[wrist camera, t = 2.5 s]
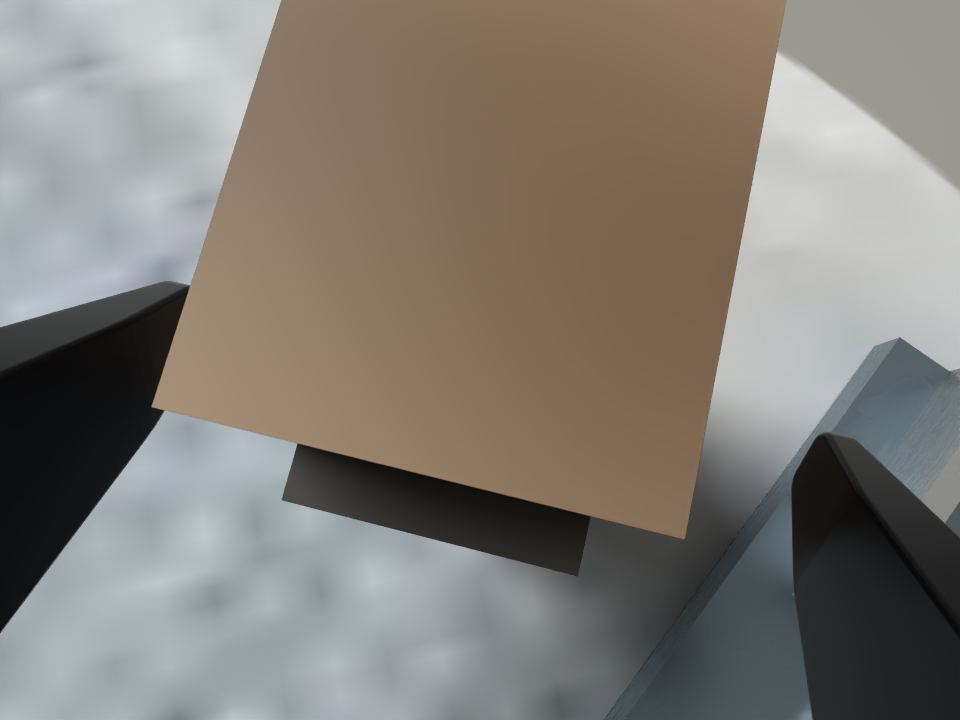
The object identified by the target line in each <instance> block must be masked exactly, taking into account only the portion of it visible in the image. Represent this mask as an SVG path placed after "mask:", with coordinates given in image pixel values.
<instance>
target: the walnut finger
mask: <svg viewBox="0 0 960 720" xmlns="http://www.w3.org/2000/svg"><path fill="white" fill-rule="evenodd" d="M785 5H786V0H281V4H280V7H279V10H278V13H277V16H276V19H275V22H274V25H273V29H272V32H271V35H270V38H269V41H268V44H267V47H266V50H265V54H264V57H263V60H262V63H261V66H260V69H259V72H258V76H257V79H256V82H255V85H254V88H253V91H252V94H251V97H250V101H249V104H248V107H247V110H246V113H245V116H244V119H243V122H242V126H241V129H240V132H239V135H238V138H237V141H236V144H235V147H234V151H233V154H232V157H231V160H230V163H229V166H228V169H227V173H226V176H225V179H224V182H223V185H222V188H221V191H220V194H219V198H218V201H217V204H216V207H215V210H214V213H213V216H212V219H211V223H210V226H209V229H208V232H207V235H206V238H205V241H204V244H203V248H202V251H201V254H200V257H199V260H198V263H197V266H196V270H195V273H194V276H193V279H192V282H191V285H190V288H189V291H188V295H187V298H186V301H185V304H184V307H183V310H182V313H181V316H180V320H179V323H178V326H177V329H176V332H175V335H174V338H173V341H172V345H171V348H170V351H169V354H168V357H167V360H166V363H165V367H164V370H163V373H162V376H161V379H160V382H159V385H158V388H157V392H156V395H155V398H154V401H153V404H152V407H153V408H157V409H161V410H165V411H169V412H173V413H177V414H181V415H186V416H190V417H194V418H198V419H202V420H206V421H210V422H214V423H218V424H222V425H226V426H230V427H234V428H238V429H242V430H246V431H250V432H254V433H258V434H262V435H266V436H270V437H274V438H278V439H282V440H286V441H290V442H294V443H298V444H297V448H296V451H295V455H294V458H293V462H292V465H291V469H290V472H289V476H288V479H287V483H286V486H285V490H284V493H283V497H282V500H283V501H287V502H291V503H295V504H299V505H303V506H306V507H310V508H314V509H318V510H322V511H326V512H330V513H334V514H337V515H341V516H345V517H349V518H353V519H357V520H361V521H365V522H369V523H372V524H376V525H380V526H384V527H388V528H392V529H396V530H400V531H404V532H407V533H411V534H415V535H419V536H423V537H427V538H431V539H435V540H439V541H442V542H446V543H450V544H454V545H458V546H462V547H466V548H470V549H474V550H477V551H481V552H485V553H489V554H493V555H497V556H501V557H505V558H509V559H512V560H516V561H520V562H524V563H528V564H532V565H536V566H540V567H544V568H547V569H551V570H555V571H559V572H563V573H567V574H571V575H575V576H578V573H579V569H580V564H581V559H582V554H583V550H584V545H585V540H586V535H587V531H588V526H589V521H590V517H591V516H592V517H596V518H600V519H604V520H608V521H612V522H616V523H620V524H624V525H629V526H633V527H637V528H641V529H645V530H649V531H653V532H657V533H661V534H665V535H669V536H673V537H677V538H681V539H685V535H686V530H687V525H688V520H689V514H690V509H691V504H692V498H693V493H694V488H695V482H696V477H697V472H698V467H699V461H700V456H701V451H702V445H703V440H704V435H705V429H706V424H707V419H708V414H709V408H710V403H711V398H712V392H713V387H714V382H715V376H716V371H717V366H718V361H719V355H720V350H721V345H722V339H723V334H724V329H725V323H726V318H727V313H728V307H729V302H730V297H731V292H732V286H733V281H734V276H735V270H736V265H737V260H738V254H739V249H740V244H741V239H742V233H743V228H744V223H745V217H746V212H747V207H748V201H749V196H750V191H751V186H752V180H753V175H754V170H755V164H756V159H757V154H758V148H759V143H760V138H761V133H762V127H763V122H764V117H765V111H766V106H767V101H768V95H769V90H770V85H771V80H772V74H773V69H774V64H775V58H776V53H777V48H778V42H779V37H780V32H781V27H782V21H783V16H784V11H785Z"/></svg>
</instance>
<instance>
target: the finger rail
mask: <svg viewBox="0 0 960 720" xmlns="http://www.w3.org/2000/svg"><path fill="white" fill-rule="evenodd" d="M825 431H828V432H832V433H836V434H841V435H845V436H850V437H853V438H855V439H856V440H857V441H858V442H860V443H861V444H862V445H863V446H864V447H865V448H866V449H867V450H868V451H869V452H870V453H871V454H872V455H873V456H874V457H875V458H876V459H878V460H879V461H880V462H881V463H882V464H883V465H884V466H885V467H886V468H887V469H888V470H889V471H890V472H891V473H892V474H893V475H894V476H896V477H897V478H898V479H899V480H900V481H901V482H902V483H903V484H904V485H905V486H906V487H907V488H908V489H909V490H910V491H911V492H912V493H914V494H915V495H916V496H917V497H918V498H919V499H920V500H921V501H922V502H923V503H924V504H925V505H926V506H927V507H928V508H929V509H930V510H931V511H933V512H934V513H935V514H936V515H937V516H938V517H939V518H940V519H941V520H942V521H943V522H944V523H945V524H946V525H947V526H948V527H949V528H951V529H952V530H953V531H954V532H955V533H956V534H957V535H958V536H959V537H960V369H957V370H953V371H948V370H946V369H945V368H944V367H942V366H941V365H939V364H938V363H936V362H935V361H933V360H932V359H930V358H929V357H927V356H926V355H925V354H923V353H922V352H920V351H919V350H917V349H916V348H914V347H913V346H911V345H910V344H909V343H907V342H906V341H904V340H903V339H901V338H900V337H899V338H897V339H894V340H891V341H888V342H886V343H883V344H880V345H877V346H875V347H874V348H873V349H872V351H871V352H870V354H869V355H868V356H867V358H866V359H865V360H864V362H863V363H862V365H861V366H860V367H859V369H858V370H857V371H856V373H855V374H854V376H853V377H852V378H851V380H850V381H849V383H848V384H847V385H846V387H845V388H844V389H843V391H842V392H841V394H840V395H839V396H838V398H837V399H836V400H835V402H834V403H833V405H832V406H831V407H830V409H829V410H828V412H827V413H826V414H825V416H824V417H823V418H822V420H821V421H820V423H819V424H818V425H817V427H816V428H815V429H814V431H813V432H812V434H811V435H810V436H809V438H808V439H807V440H806V442H805V443H804V445H803V446H802V447H801V449H800V450H799V452H798V453H797V454H796V456H795V457H794V458H793V460H792V461H791V463H790V464H789V465H788V467H787V468H786V469H785V471H784V472H783V474H782V475H781V476H780V478H779V479H778V481H777V482H776V483H775V485H774V486H773V487H772V489H771V490H770V492H769V493H768V494H767V496H766V497H765V498H764V500H763V501H762V503H761V504H760V505H759V507H758V508H757V509H756V511H755V512H754V514H753V515H752V516H751V518H750V519H749V521H748V522H747V523H746V525H745V526H744V527H743V529H742V530H741V532H740V533H739V534H738V536H737V537H736V538H735V540H734V541H733V543H732V544H731V545H730V547H729V548H728V550H727V551H726V552H725V554H724V555H723V556H722V558H721V559H720V561H719V562H718V563H717V565H716V566H715V567H714V569H713V570H712V572H711V573H710V574H709V576H708V577H707V578H706V580H705V581H704V583H703V584H702V585H701V587H700V588H699V590H698V591H697V592H696V594H695V595H694V596H693V598H692V599H691V601H690V602H689V603H688V605H687V606H686V607H685V609H684V610H683V612H682V613H681V614H680V616H679V617H678V618H677V620H676V621H675V623H674V624H673V625H672V627H671V628H670V630H669V631H668V632H667V634H666V635H665V636H664V638H663V639H662V641H661V642H660V643H659V645H658V646H657V647H656V649H655V650H654V652H653V653H652V654H651V656H650V657H649V659H648V660H647V661H646V663H645V664H644V665H643V667H642V668H641V670H640V671H639V672H638V674H637V675H636V676H635V678H634V679H633V681H632V682H631V683H630V685H629V686H628V687H627V689H626V690H625V692H624V693H623V694H622V696H621V697H620V699H619V700H618V701H617V703H616V704H615V705H614V707H613V708H612V710H611V711H610V712H609V714H608V715H607V716H606V718H605V719H604V720H812V714H811V707H810V700H809V693H808V686H807V679H806V672H805V666H804V659H803V652H802V645H801V638H800V631H799V625H798V618H797V611H796V604H795V595H794V586H793V557H792V505H791V486H792V480H793V477H794V474H795V472H796V470H797V468H798V467H799V465H800V463H801V461H802V460H803V458H804V456H805V455H806V453H807V451H808V449H809V448H810V446H811V444H812V443H813V441H814V439H815V438H816V437H817V435H819V434H820V433H822V432H825Z"/></svg>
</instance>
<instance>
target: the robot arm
mask: <svg viewBox="0 0 960 720" xmlns="http://www.w3.org/2000/svg"><path fill="white" fill-rule="evenodd" d="M189 288H190V285H186V284H182V283H177V282H173V281H164V282H160V283H157V284H153V285H150V286H146V287H142V288H139V289H135V290H132V291H128V292H125V293H121V294H118V295H114V296H110V297H107V298H103V299H100V300H96V301H93V302H89V303H86V304H82V305H78V306H75V307H71V308H68V309H64V310H61V311H57V312H53V313H50V314H46V315H43V316H39V317H36V318H32V319H29V320H25V321H21V322H18V323H14V324H11V325H7V326H4V327H0V633H1V631H2V630H3V629H4V627H5V626H6V625H7V623H8V622H9V621H10V619H11V618H12V617H13V615H14V614H15V613H16V611H17V610H18V609H19V607H20V606H21V605H22V603H23V602H24V601H25V600H26V598H27V597H28V596H29V594H30V593H31V592H32V590H33V589H34V588H35V586H36V585H37V584H38V582H39V581H40V580H41V578H42V577H43V576H44V574H45V573H46V572H47V570H48V569H49V568H50V566H51V565H52V564H53V562H54V561H55V560H56V558H57V557H58V556H59V554H60V553H61V552H62V550H63V549H64V548H65V546H66V545H67V544H68V542H69V541H70V540H71V538H72V537H73V536H74V534H75V533H76V532H77V530H78V529H79V528H80V526H81V525H82V524H83V522H84V521H85V520H86V518H87V517H88V516H89V514H90V513H91V512H92V510H93V509H94V508H95V506H96V505H97V504H98V502H99V501H100V500H101V498H102V497H103V496H104V494H105V493H106V492H107V490H108V489H109V488H110V486H111V485H112V484H113V482H114V481H115V480H116V478H117V477H118V476H119V474H120V473H121V472H122V470H123V469H124V468H125V466H126V465H127V464H128V462H129V461H130V460H131V458H132V457H133V456H134V454H135V453H136V452H137V450H138V449H139V448H140V446H141V445H142V444H143V442H144V441H145V440H146V438H147V437H148V435H149V434H150V433H151V431H152V430H153V428H154V427H155V425H156V424H157V422H158V421H159V419H160V418H161V416H162V414H163V413H164V411H165V410H161V409H157V408H153V407H152V404H153V401H154V398H155V395H156V392H157V388H158V385H159V382H160V379H161V376H162V373H163V370H164V367H165V363H166V360H167V357H168V354H169V351H170V348H171V345H172V341H173V338H174V335H175V332H176V329H177V326H178V323H179V320H180V316H181V313H182V310H183V307H184V304H185V301H186V298H187V295H188V291H189ZM791 505H792V557H793V586H794V595H795V604H796V611H797V618H798V625H799V631H800V638H801V645H802V652H803V659H804V666H805V672H806V679H807V686H808V693H809V700H810V707H811V714H812V720H960V537H959V536H958V535H957V534H956V533H955V532H954V531H953V530H952V529H951V528H949V527H948V526H947V525H946V524H945V523H944V522H943V521H942V520H941V519H940V518H939V517H938V516H937V515H936V514H935V513H934V512H933V511H931V510H930V509H929V508H928V507H927V506H926V505H925V504H924V503H923V502H922V501H921V500H920V499H919V498H918V497H917V496H916V495H915V494H914V493H912V492H911V491H910V490H909V489H908V488H907V487H906V486H905V485H904V484H903V483H902V482H901V481H900V480H899V479H898V478H897V477H896V476H894V475H893V474H892V473H891V472H890V471H889V470H888V469H887V468H886V467H885V466H884V465H883V464H882V463H881V462H880V461H879V460H878V459H876V458H875V457H874V456H873V455H872V454H871V453H870V452H869V451H868V450H867V449H866V448H865V447H864V446H863V445H862V444H861V443H860V442H858V441H857V440H856V439H855V438H853V437H850V436H845V435H841V434H836V433H832V432H828V431H825V432H822V433H820V434H819V435H817V437H816V438H815V439H814V441H813V443H812V444H811V446H810V448H809V449H808V451H807V453H806V455H805V456H804V458H803V460H802V461H801V463H800V465H799V467H798V468H797V470H796V472H795V474H794V477H793V480H792V486H791Z"/></svg>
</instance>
